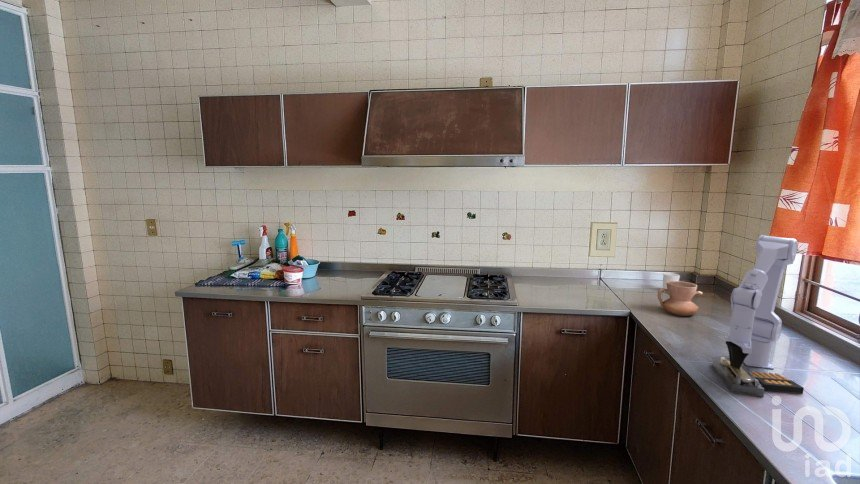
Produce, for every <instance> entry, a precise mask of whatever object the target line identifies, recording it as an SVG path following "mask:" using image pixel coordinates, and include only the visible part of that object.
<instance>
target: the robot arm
mask: <svg viewBox="0 0 860 484" xmlns="http://www.w3.org/2000/svg"><path fill="white" fill-rule="evenodd" d="M798 242H799V241H798V240H797V239H796V238H791V237H790V238H788V237H780V236H771V235H765V234H761V235H760V236H759V237H758V238H757V240H756V244H755V250H756V254H757V258H756V260H755V264H754V265H753V268H752V269H749V270H747V271H746V273H745V275H744V277H743V279H742V281H741V282H740V284H739V286H738V287H735V288H733V290H732V292H731V295H730V304H731V305H730V310H732V311H731V317H730V324H729V330H727V335H724V337H723V339H724V340H725V344H726V347H727V350H728V358H729V360H730V364H731V365H732V366H733V367H738V368H740V367H741V365H742V363H744V364H745V365H746V366H748V367H757V368H762V369H771V370H774V369H775V367H774V366H773V365H772V364H771V363H770V361H771V360H770V359H771V353H772V348H773V342H774V343H775V342H777V341H778V340H779V339H780V336H781V334H782V326H783V325H782V324H783V322H782V321H783V320H782V319H781V318H780V317H779V315H777V314H776V313H775V309H776V305H777V301H778V300H777V299H778V296H779V292H780V288H781V284H782V280H783V276H784V273H785V270H786V267H787V266H789V265H792V264H794V261H795V259H796V256H797V251H798V244H799V243H798ZM767 320H768V321H767Z"/></svg>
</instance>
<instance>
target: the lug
mask: <svg viewBox="0 0 860 484" xmlns="http://www.w3.org/2000/svg"><path fill="white" fill-rule="evenodd" d="M719 359H720V363H721V364H722V365H726V366H728V365H727V364H726V360H727V358H726V357H724V356H720V358H719ZM743 363H744V362H743ZM743 363H742V365H744V364H743ZM742 365H741V367H742Z"/></svg>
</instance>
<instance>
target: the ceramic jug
mask: <svg viewBox="0 0 860 484" xmlns="http://www.w3.org/2000/svg"><path fill="white" fill-rule="evenodd" d="M697 289H698V285H697V284H696V283H693V282H689V281H681V280H679V281H667V289H665V288H663V287H662V288H659V290H657V299H658V301H659V302H660V307H661V308H662V309H663V310H664V311H666V312H667V313H669V314H672V315H676V316H679V317H680V316H681V317H682V316H683V317H685V316H687V317H690V316H693V315H695V314H697V312H698V310H699V308H700V307H699V306H697V304H696V303H694V302H693V301H692V299H693V298H694V296H695V295H700V296H702V295H703V291H700V290H697ZM663 291H664V292H663ZM662 292H663V293H665V292H666V293H665V294H667V295H668V296H669V298H667V299H665V300H664V301H663V299H662V295H661V294H662Z"/></svg>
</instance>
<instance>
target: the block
mask: <svg viewBox="0 0 860 484" xmlns="http://www.w3.org/2000/svg"><path fill="white" fill-rule="evenodd" d="M720 359H721V358H716V357H713V358H712V361H711V362H712V364H711V366H712V367H713V368H714V370H715V371H716V372H717V374H718V376H719V377H720V378H721V380H722V381H723V383H725V385H726V386H727V388H728V389H729V391H730V392H731V393H735V394H741V395H747V396H752V397H753V396H754V397H760V398H764V395H765V391H766V390H765V389H764V388H763V387H762V386H761V384H760V383H759V381H758V380H757V379H755V378H754V376H753V375H752V374H751V371H750V370H749V369H747V367H746V366H745V365H744V364H743V365H742V368H743V370H744V371H745V372H746V373H747V374H748V375H749V376H750V377H751V379H752V380H753V384H750V383H744V382H741V378H740V377H739V376H736V375H735V373H734V372H733V371H732V370H731V369H730V367H729V366H726V365H722V364H721V363H720ZM728 360H729V361H730V359H728Z"/></svg>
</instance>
